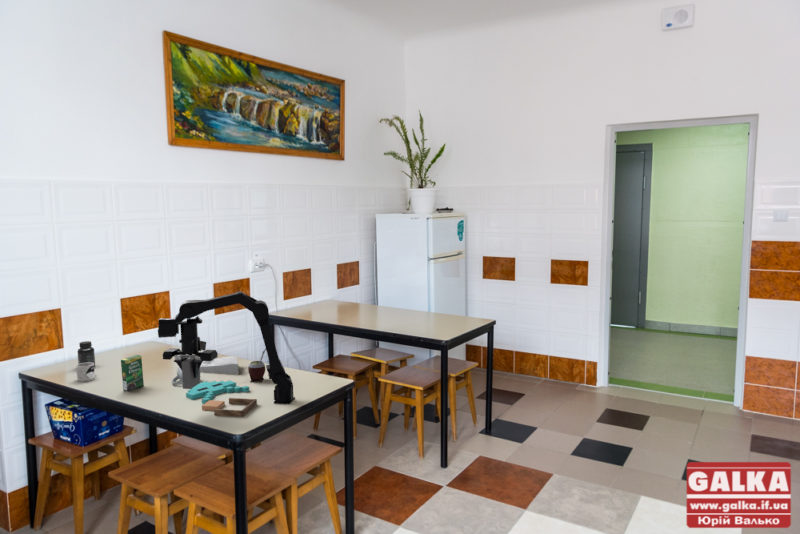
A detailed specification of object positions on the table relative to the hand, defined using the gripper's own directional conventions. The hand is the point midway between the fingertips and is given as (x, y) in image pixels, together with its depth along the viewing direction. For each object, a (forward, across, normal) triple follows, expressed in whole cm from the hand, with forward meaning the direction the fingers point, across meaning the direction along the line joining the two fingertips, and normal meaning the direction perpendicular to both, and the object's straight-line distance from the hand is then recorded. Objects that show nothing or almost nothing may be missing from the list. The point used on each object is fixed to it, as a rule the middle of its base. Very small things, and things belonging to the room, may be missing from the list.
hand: (191, 377), depth 214 cm
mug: (+13, +65, -30) cm, 73 cm away
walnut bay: (+12, -15, -3) cm, 20 cm away
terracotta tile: (+13, -6, -4) cm, 15 cm away
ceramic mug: (+13, +20, -30) cm, 38 cm away
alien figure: (+13, +2, -20) cm, 24 cm away
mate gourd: (+13, -10, -37) cm, 40 cm away
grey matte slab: (+3, 0, 0) cm, 3 cm away
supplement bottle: (+13, +76, -44) cm, 89 cm away
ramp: (+13, +14, -50) cm, 53 cm away
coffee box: (+13, +37, -20) cm, 44 cm away
